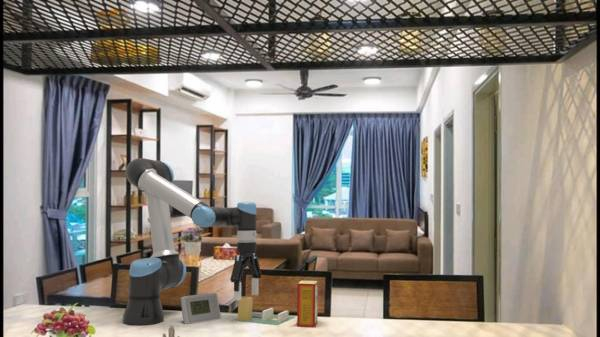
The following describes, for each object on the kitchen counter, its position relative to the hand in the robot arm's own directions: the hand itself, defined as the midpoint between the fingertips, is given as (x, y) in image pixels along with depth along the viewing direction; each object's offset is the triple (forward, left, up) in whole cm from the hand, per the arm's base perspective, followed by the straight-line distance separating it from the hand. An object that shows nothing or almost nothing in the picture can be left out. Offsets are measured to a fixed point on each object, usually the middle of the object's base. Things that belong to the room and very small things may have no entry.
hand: (246, 297), depth 186 cm
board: (+6, +4, -9) cm, 12 cm away
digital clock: (-14, -9, -10) cm, 19 cm away
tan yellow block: (0, 0, -8) cm, 8 cm away
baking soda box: (+23, +7, -10) cm, 25 cm away
